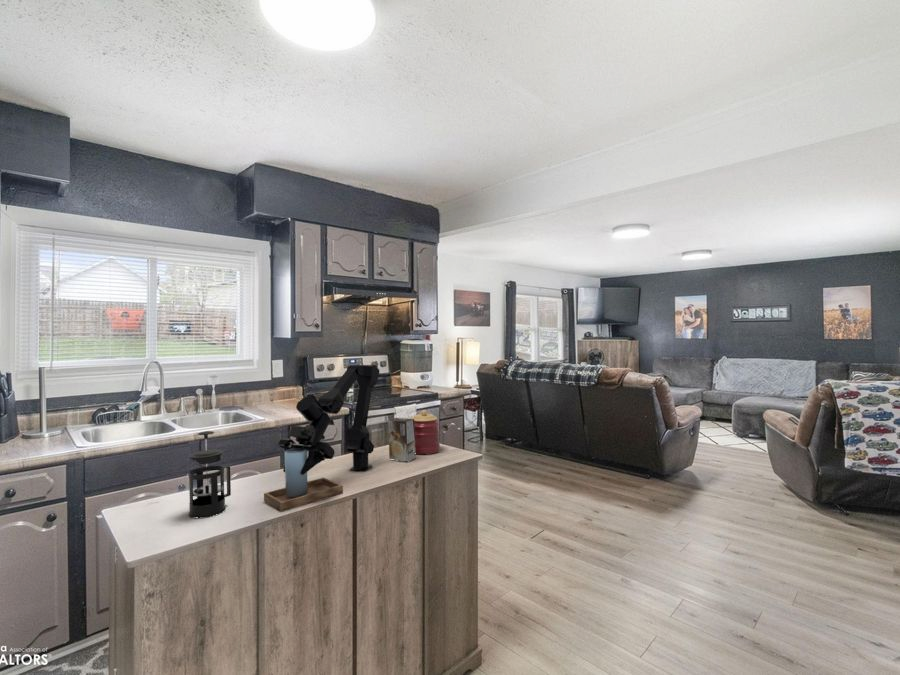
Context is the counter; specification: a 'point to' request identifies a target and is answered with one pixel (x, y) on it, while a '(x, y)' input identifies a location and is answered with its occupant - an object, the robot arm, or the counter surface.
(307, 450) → the robot arm
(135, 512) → the counter surface
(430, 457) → the counter surface
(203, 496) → the french press
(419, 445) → the canister
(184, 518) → the counter surface
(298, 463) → the cup
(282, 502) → the tray
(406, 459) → the coffee box
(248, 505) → the counter surface
